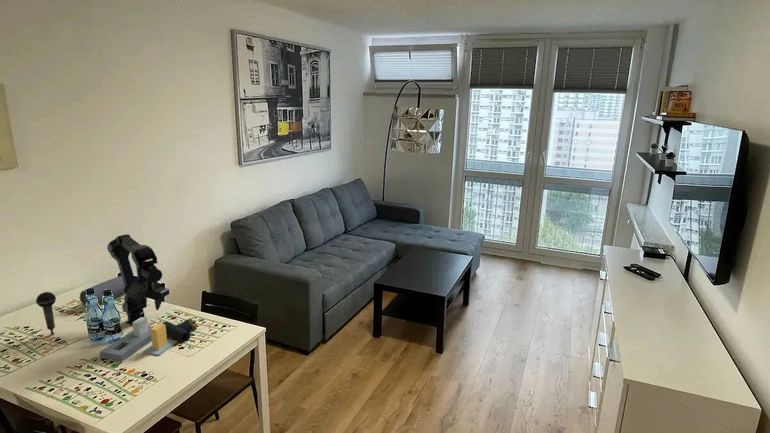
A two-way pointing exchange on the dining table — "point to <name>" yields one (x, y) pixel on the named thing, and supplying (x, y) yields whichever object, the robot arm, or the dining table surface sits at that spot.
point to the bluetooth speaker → (113, 284)
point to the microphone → (47, 308)
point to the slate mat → (160, 351)
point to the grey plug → (140, 326)
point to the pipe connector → (180, 330)
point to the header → (126, 346)
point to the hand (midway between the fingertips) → (148, 308)
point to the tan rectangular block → (158, 336)
